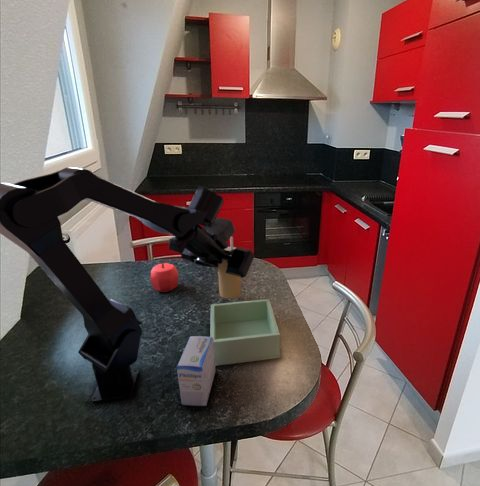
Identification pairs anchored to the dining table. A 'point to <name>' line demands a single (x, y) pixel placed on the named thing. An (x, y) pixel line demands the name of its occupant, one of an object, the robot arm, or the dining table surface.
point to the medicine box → (196, 371)
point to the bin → (244, 332)
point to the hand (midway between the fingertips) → (232, 268)
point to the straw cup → (228, 279)
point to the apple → (164, 277)
